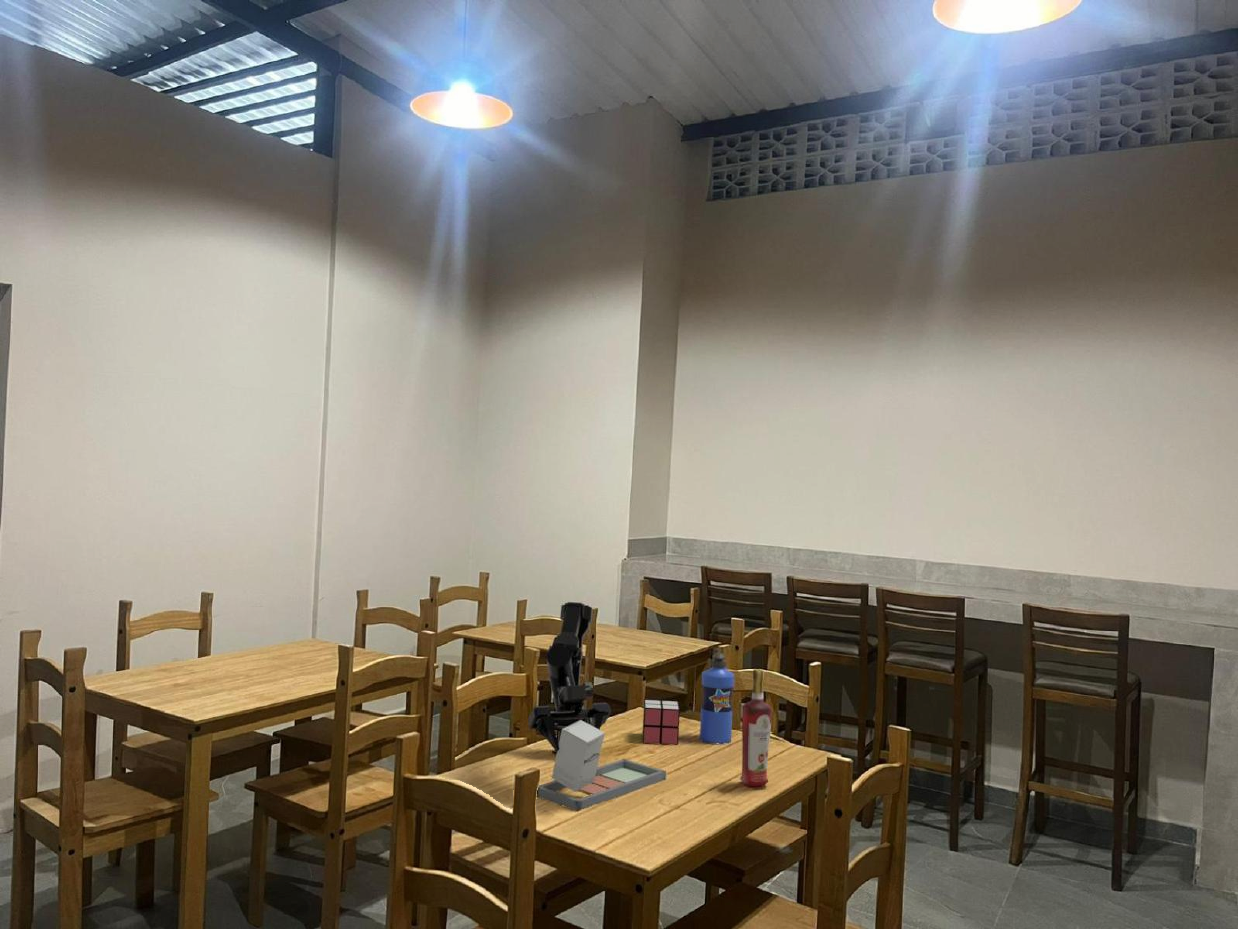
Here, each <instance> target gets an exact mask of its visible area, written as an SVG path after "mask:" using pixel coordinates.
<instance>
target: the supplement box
mask: <svg viewBox="0 0 1238 929" xmlns="http://www.w3.org/2000/svg"><path fill="white" fill-rule="evenodd" d="M605 735H606V734H605V732H604V731H602V730H601V729H600V730H599V729H597V728H595V727H593V726H591V725H590V723H588V724H587V723H585V722H584V721H582V720H579V721H577V722H575V723H573V724H571V725H569V726H567V727H565V728H563V729H562V732H561V736H560V741H559V750H558V751H557V754H556V755H555V760H554V765H553V769H552V775H551V779H553V781H555V780H556V781H558V782H559V783H561V784H563V785H564V786H566V787H567V788H568V789H569V790H570V791H573V792H574V793H576V792H578V790H580V789H581V788H583V787H584V786H586V785H588V784H589V783H591V782H593V781H594V779H595V774H596V770H597V767H599V766H598V765H599V761H600V756H601V752H602V746H603V742H604V739H605ZM567 788H566V789H567Z"/></svg>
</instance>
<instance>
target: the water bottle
mask: <svg viewBox="0 0 1238 929" xmlns="http://www.w3.org/2000/svg"><path fill="white" fill-rule="evenodd" d="M712 658H713V659H712V660H711V664H710V665H711V666H712V667H709V669H707V670H704V671H702V672H701V685H702V703H701V708H700V724H699V726H700V728H699V740H700V739H701V740H702V741H701V740H700V741H701V742H702V743H703V742H704V743H707V744H710V743H719V744H718V745H725V744H724V743H728V744H730V743H732V730H733V726H732V725H733V706H732V700H733V699H732V698H733V691H734V688H735V673H733V672H731V671H729V670H728V669H727V668H726V666H727V660H725V659H726V658H727V657H726V655H725V654H724V653H723V652H721V651H720V652H719V651H718V652H715V653H714V654H713V655H712Z"/></svg>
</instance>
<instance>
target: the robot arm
mask: <svg viewBox="0 0 1238 929" xmlns="http://www.w3.org/2000/svg"><path fill="white" fill-rule="evenodd" d="M593 617H594V610H593V607H592V606H589V605H588V604H587V605H586V604H584V603H582V602H573V601H572V602H571V601H568V602H565V603H564V604H562V605H561V606H560V618H559V619H560V620H561V621H562V625H561V629H560V633H559V635H556V636H555V637H554V638H553V641H552V645H550V646H549V648H548V650H547V652H546V655H545V656H546V663H547V670H548V679H549V683H550V688H551V693H552V699H551V701H552V704H554V707H553V711H552V708H551V706H550V705H540V706H539V705H537V706H536V705H535V706H534V707H533V708H532V710H531V712H530V714H529V717H528V726H529V729H531V730H535V732H536V733H540V734H541V735H542V736H543V737H544V738H545V739H546V741H547V742H548V743H549V744H550V745H551V747H552V748H553V749H552V750H551V753H552V754H556V755H557V751H558V750H559V741H560V736H561V732H562V729H563V728H565V727H567V726H569V725H571V724H573V723H575V722H577V721H579V720H582V721H584V722H585V723H587V724H589V725H591V726H593V727H595V728H597V729H599V730H601V728H602V726H603V725H605V724H606V722H607V720H608V719H609V717H610V715H611V714H612V710H611V706H610V705H609V704H608V702H595V703H592V704H591V706H590V707H589V708H588V709H584V708H585V707H584V706H585V701H587V700H588V698H591V697H593V696H594V695H595V688H594V686H593V683H592V682H593V681H592V682H591V681H590V682H584V683H582V684H580V683H581V671H582V659H583V657H584V656H583V655H584V652H583V646H584V645H583V644H584V638H585V636H586V635H587V634H588V632H589V630H590V628H591V623H593Z"/></svg>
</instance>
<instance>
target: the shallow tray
mask: <svg viewBox="0 0 1238 929" xmlns="http://www.w3.org/2000/svg"><path fill="white" fill-rule="evenodd" d="M605 777H607V778H605ZM609 778H610V779H609ZM666 778H667V770H663V769H661V768H660V769H659V768H656V767H652V766H650V765H646V764H643V763H639V762H636V761H632V760H629V759H626V758H623V759H620V760H616V761H613V762H609V763H606V764H603V765H600V766H597V770H596V774H595V779H594V781H593V782H591V783H589V784H588V785H586V786H584V787H583V788H581V789H580V790H581V791H583V792H582V793H584V792H585V794H587V793H588V795H587V796H584V797H580V798H575V797H572V796H570V795H567V794H564V793H562V792H559V791H561V790H564V789H566V788H565V787H566V786H564V785H563V784H561V783H559V782H558V781H556V780H553V781H552V780H551V781H550V782H546V783H543V784H539V785H538V786H539V787H538V790H537V796H536V797H538V798H540V799H541V800H542V799H543V800H546V801H548V802H551V801H552V802H551V803H554V804H556V803H557V805H559V804H562V805H564V806H563V807H565V806H566V807H565V808H568V807H569V808H568V809H571V808H573V809H575V810H574V811H576V810H580V811H582V810H581V809H583V810H585V809H588V808H591V807H593V806H592V805H594V804H596V805H599V804H602V803H604V802H603V801H605V802H606V801H607V802H608V801H609V800H613V799H615V797H616V798H618V797H621V796H624V795H626V794H629V793H633V792H634V790H635V791H637V790H641V789H643V788H646V787H649V786H651V785H650V784H652V785H654V784H657V783H660V782H662V780H663V781H666ZM615 780H616V781H615ZM618 781H619V782H618ZM659 781H660V782H659ZM621 782H622V783H621ZM594 784H596V785H594ZM597 785H598V786H597ZM648 785H649V786H648ZM603 787H606V788H607V789H606V788H603ZM642 787H643V788H642ZM563 788H564V789H563ZM640 788H641V789H640ZM557 790H558V791H557ZM581 791H580V792H581ZM590 794H592V795H590ZM601 802H602V803H601ZM562 805H561V806H562ZM590 806H591V807H590ZM594 806H595V805H594ZM584 808H585V809H584ZM573 809H572V810H573Z"/></svg>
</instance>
